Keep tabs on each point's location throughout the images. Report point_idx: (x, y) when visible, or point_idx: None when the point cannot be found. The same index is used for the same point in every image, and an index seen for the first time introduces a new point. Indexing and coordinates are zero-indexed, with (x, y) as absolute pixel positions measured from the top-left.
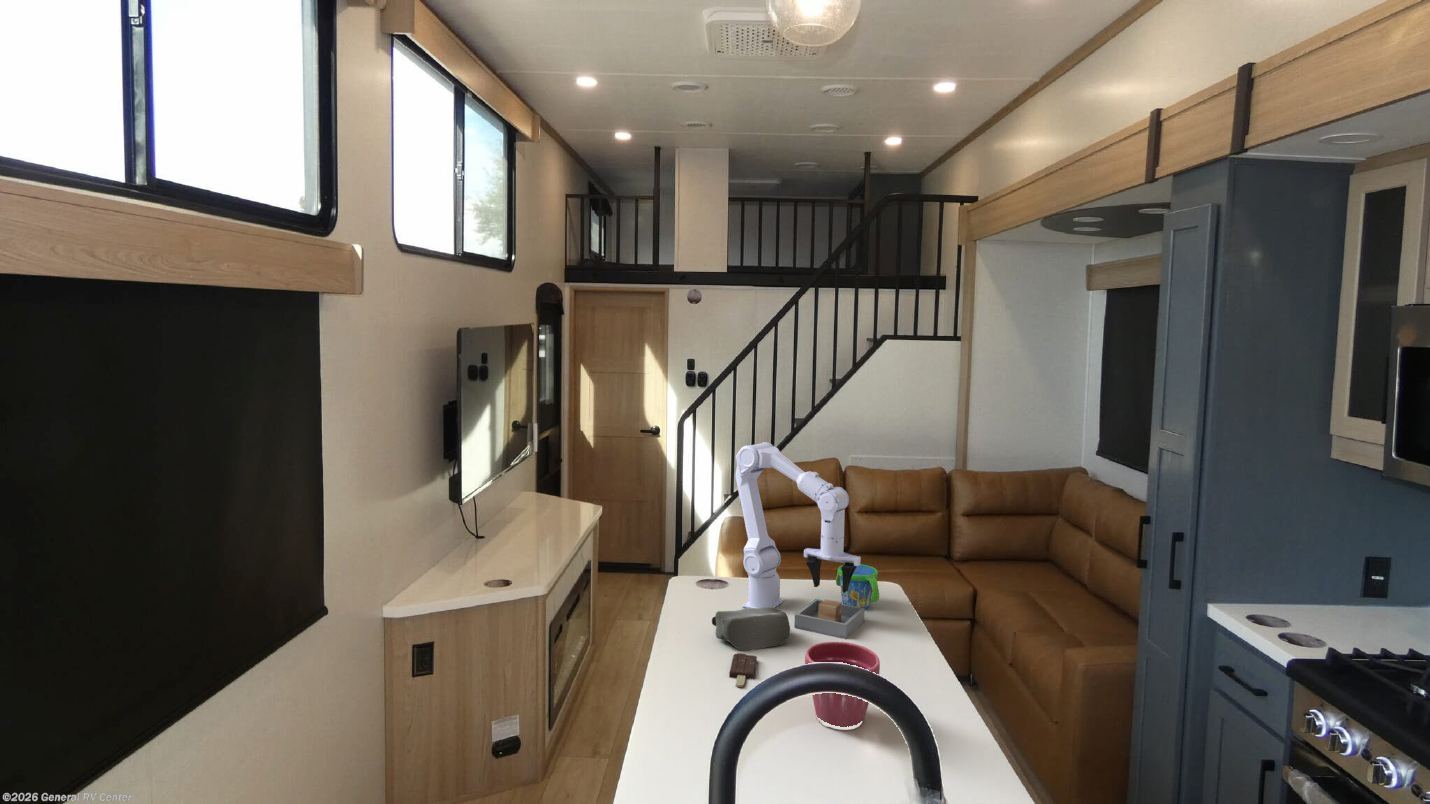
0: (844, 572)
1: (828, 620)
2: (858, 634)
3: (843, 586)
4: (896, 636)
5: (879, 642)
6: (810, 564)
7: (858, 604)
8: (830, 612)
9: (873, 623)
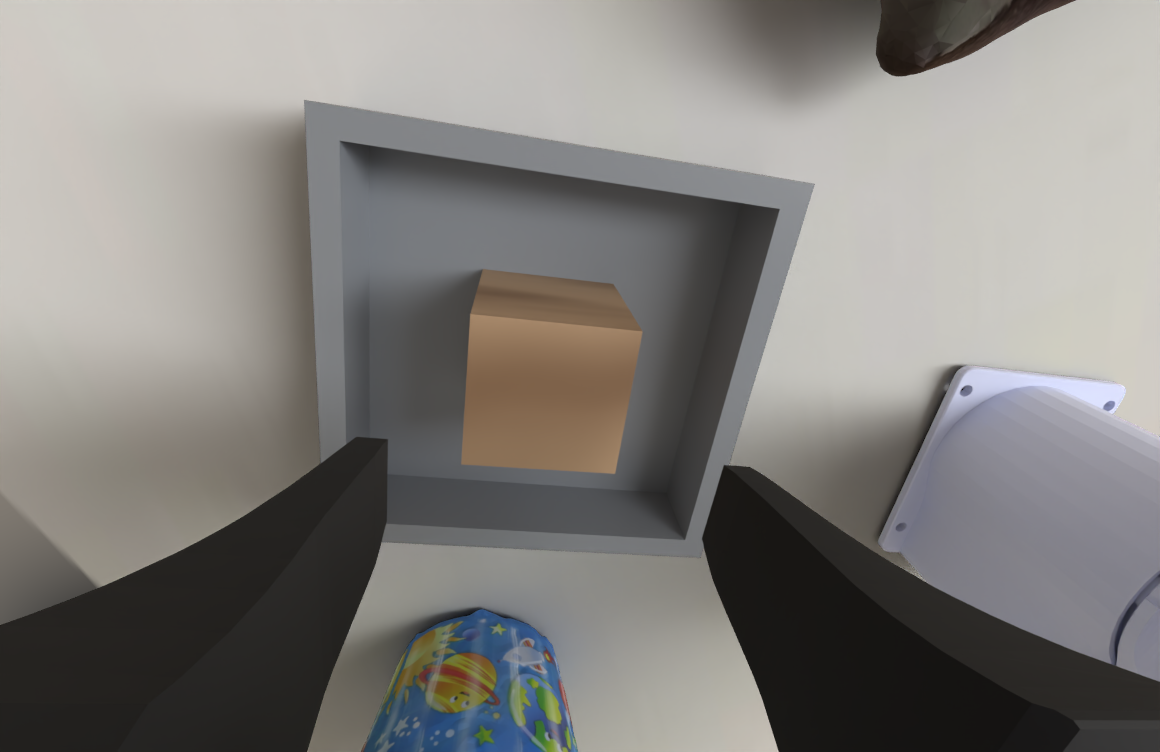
0: (160, 623)
1: (499, 156)
2: (298, 249)
3: (344, 470)
4: (38, 328)
5: (81, 153)
6: (1065, 679)
7: (441, 637)
8: (520, 303)
9: (289, 476)
